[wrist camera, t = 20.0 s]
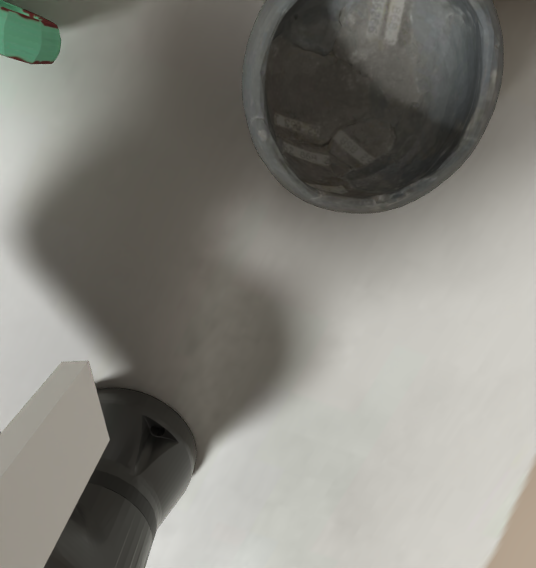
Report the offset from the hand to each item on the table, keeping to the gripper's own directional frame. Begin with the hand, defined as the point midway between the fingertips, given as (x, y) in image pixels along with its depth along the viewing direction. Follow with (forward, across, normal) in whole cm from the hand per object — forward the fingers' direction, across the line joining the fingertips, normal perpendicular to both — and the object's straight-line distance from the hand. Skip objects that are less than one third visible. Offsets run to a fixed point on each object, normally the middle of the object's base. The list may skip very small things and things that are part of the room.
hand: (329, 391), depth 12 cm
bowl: (+26, +4, +8) cm, 27 cm away
